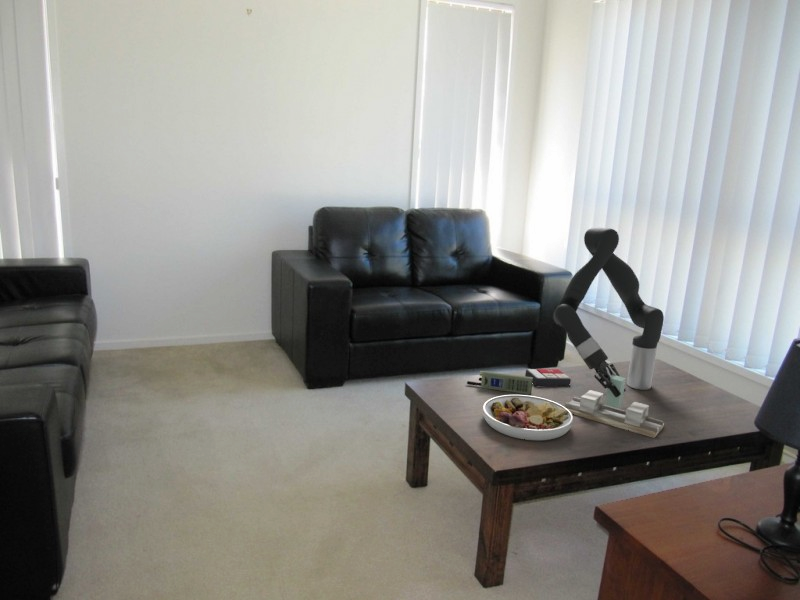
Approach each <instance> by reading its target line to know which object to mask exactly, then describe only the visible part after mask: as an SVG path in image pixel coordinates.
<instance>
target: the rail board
mask: <svg viewBox="0 0 800 600" xmlns="http://www.w3.org/2000/svg"><path fill="white" fill-rule="evenodd" d="M603 402H604V393H603V392H599V391H595V390H591V389H590V390H589V389H588V391H587V392H585V393H584V394H583V395H581V396H580V397H576V396H573V397H572V400H570V401H569V402H565V404H564V405H565V406H564V407H565V408H567V409H568V410H569V411H570V412H571V414H572V415H573V414H574V415H575V416H577V417H580V418H584V419H588V420H591V421H595V422H598V423H601V424H605V425H608V426H612V427H615V428H619V429H622V430H625V431H628V430H629V432H631V433H632V432H633V433H636V434H640V435H642V436H643V435H644V436H646V437H649V438H654V439H655V438H656V436H657V435H658V434H659V433H660V432H661V431H662V430H663V428H664V427H665V423H664V420H661V419H657V418H654V417H649V409H650V408H649V407H650V405H648V404H645V403H641V402H638V401H633V402H632V403H631V405H628V407H626V409H625V410H624V409H621V408H614V407H611V406H607V405H605V404H603ZM574 415H573V416H574Z"/></svg>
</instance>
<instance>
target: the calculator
mask: <svg viewBox="0 0 800 600" xmlns="http://www.w3.org/2000/svg"><path fill="white" fill-rule="evenodd" d="M524 376H526V377H533V381H532V383H533V384H534V385H535V386H545V387H554V386H553V385H569V384H570V385H571V381H572V379H571V378H570V376H568V375H567V374H565V373H564V372H563V371H562V370H560V369H556V368H554V369H553V368H552V369H550V368H536V369H533V368H532V369H531V368H529V369H528V368H527V369H526V370H525V375H524ZM533 384H532V385H533ZM534 385H533V386H534ZM570 385H569V386H570ZM535 386H534V387H535Z"/></svg>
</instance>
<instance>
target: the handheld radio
mask: <svg viewBox="0 0 800 600" xmlns="http://www.w3.org/2000/svg"><path fill="white" fill-rule="evenodd" d="M479 376H480V377H479V378H478V381H480V382H476V381H469V380H467V381H466V385H469V386H470V385H471V386H475V387H476V386H479V387H480V388H481V389H487V390H493V391H501V392H507V393H516V394H521V395H529V396H532V391H533V390H532V389H533V384H532V381H533V377H526V376H525V375H515V374H510V373H509V374H508V373H501V372H494V371H485V370H480V371H479Z"/></svg>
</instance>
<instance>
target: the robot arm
mask: <svg viewBox="0 0 800 600" xmlns="http://www.w3.org/2000/svg"><path fill="white" fill-rule="evenodd" d="M583 240H584V241H583V242H584V246H585V248H586V249H587V251H588V252H589V253H590V255H591V258H590V259H589V260H588V262H586V263H585V265H583V266H582V267H581V268H579V270H577V271H576V272H575V274H574V275H573V276H572V277H571V279H570V281H569V283H568V285H567V287H566V289H565V291H564V294H563V295H562V298H561V300H560V302H558V305H557V307H556V309H555V310H554V312H553V314H552V319H553V320H554V323H555V324H556V325H558V326H559V327H562V328H563V330H564V331H565V332H566V334H567V337H568V339H569V341H570V342H571V344H572V345H573V347H574V348H575V350H576V352H577V354H578V355H579V356H580V357H581V359H582V361H583V362H584V363H585V365H586V366H587V368H588V369H589V370H593V369H594V370H595V373H596V374H594V376H593V377H594V378H595V380H596V381H598V383H599V384H600V385H601V386H602V387H603V388H604V389H606V390H607V388H608V389H610V390H611V392H612V393H613V395H614V396H615V397H618V396H620V395H621V393H620V392H619V390H618V389H617V387H616V386H614V383H613V381H612V380H611V379H612V375H614V376H620V374H619V371H618V370H617V369H616V367H615V365H614V364H613V363H610V364H609V363H608V362H607V360H608V359H609V356H608V355H607V354H606V353H605V352H604V350H603V349H602V348H601V346H600V345H599V343H598V342H597V340H596V339H594V338H593V336H592V335H591V333H590V332H589V331H588V329H587V328H586V327H585V325H584V324H583V322H582V320H581V318H580V316H579V314H578V313H577V311H578V309H579V307H580V304H582V302H583V300H584V299H585V297H586V295H587V293H588V291H589V290H590V287H591V285H592V283H593V282H594V280H595V279H596V277H597V275H598V274H599V273H600V271H601V270H602V271H603V272H604V274H605V275H606V277H607V279H608V281H609V282H610V284H611V286H612V288H613V289H614V291H615V292H616V293H617V295H618V296H619V298H620V300H621V301H622V303H623V305H624V306H625V309H626V312H627V313H628V316H629V317H630V319H631V322H632V323H633V324H634V325H635V326H636V327H638V328H641V329H643V331H642V334H641V335H636V336H634V337H633V338H632V344H631V352H630V359H629V367H628V373H627V380H626V385H627V386H628V387H630V388H633V389H635V390H642V391H643V390H644V391H645V390H646V391H647V390H650V389H651V387H652V381H653V375H654V369H655V362H656V355H657V350H658V349H657V348H658V343H659V342H660V339H661V336H662V331H663V326H664V317H665V316H664V312H663V311H662V310H661V309H659V308H657V307H654V306H651V305H648V304H646V303H645V302H644V301H643V299H642V298H641V296H640V294H639V290H640V281H639V279H638V277H637V275H636V273H635V271H634V270H633V268H632V267H631V266H630V265H629V264H628V263H627V262H625V261H624V260H623V259H621V258H620V257H618V255H616V254H615V253H614V252H615V251H616V250H617V247H618V245H619V242H620V236H619V233H618V232H617V230H615V229H614V228H611V227H609V228H608V227H591V228H588V229H587V230H586V232H585V233H584V236H583ZM620 377H621V376H620ZM609 381H610V382H609ZM625 392H626V388H624V393H625Z"/></svg>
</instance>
